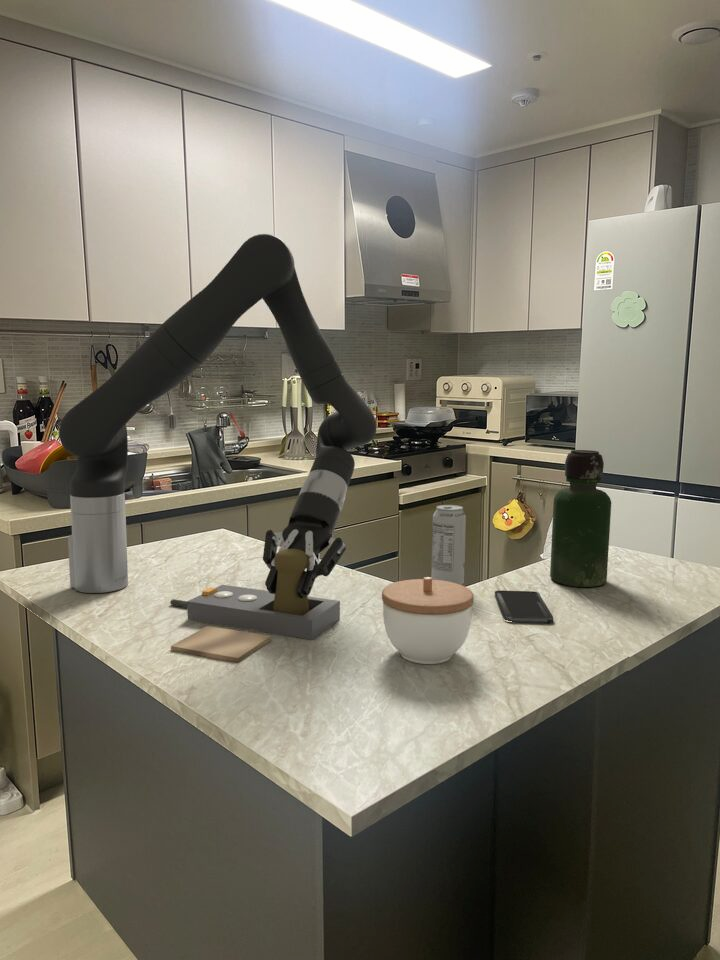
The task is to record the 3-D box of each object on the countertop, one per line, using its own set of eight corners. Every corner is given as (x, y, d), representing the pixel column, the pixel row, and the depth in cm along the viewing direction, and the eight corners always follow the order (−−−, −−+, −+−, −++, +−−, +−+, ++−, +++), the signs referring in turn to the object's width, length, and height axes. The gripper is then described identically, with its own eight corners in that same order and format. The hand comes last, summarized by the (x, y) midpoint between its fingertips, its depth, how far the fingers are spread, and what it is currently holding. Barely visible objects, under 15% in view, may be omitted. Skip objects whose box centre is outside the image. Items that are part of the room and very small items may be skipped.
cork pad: (171, 649, 100) (170, 645, 100) (207, 629, 108) (207, 625, 108) (238, 662, 96) (238, 658, 96) (271, 640, 104) (271, 636, 104)
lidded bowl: (381, 637, 106) (382, 565, 104) (466, 638, 105) (468, 566, 104) (380, 671, 93) (382, 590, 92) (477, 673, 93) (480, 592, 91)
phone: (504, 618, 113) (494, 590, 127) (504, 624, 113) (493, 596, 128) (555, 619, 112) (538, 591, 127) (555, 626, 112) (538, 597, 127)
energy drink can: (470, 587, 131) (473, 508, 129) (446, 593, 128) (448, 511, 126) (448, 580, 136) (450, 503, 134) (424, 585, 133) (426, 506, 130)
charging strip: (151, 613, 115) (151, 592, 115) (188, 596, 124) (188, 576, 124) (312, 639, 104) (312, 616, 104) (339, 618, 114) (339, 597, 113)
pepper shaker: (294, 627, 107) (294, 557, 106) (263, 620, 110) (263, 551, 109) (317, 616, 112) (318, 549, 111) (287, 609, 115) (287, 543, 114)
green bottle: (539, 579, 137) (545, 450, 133) (568, 570, 144) (575, 447, 140) (588, 592, 129) (595, 455, 126) (616, 581, 136) (624, 452, 133)
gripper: (273, 486, 118) (235, 575, 109) (353, 493, 113) (320, 587, 103) (288, 512, 124) (253, 599, 114) (365, 520, 118) (334, 611, 109)
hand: (285, 593), depth 109 cm, fingers closed on pepper shaker, 4 cm apart
